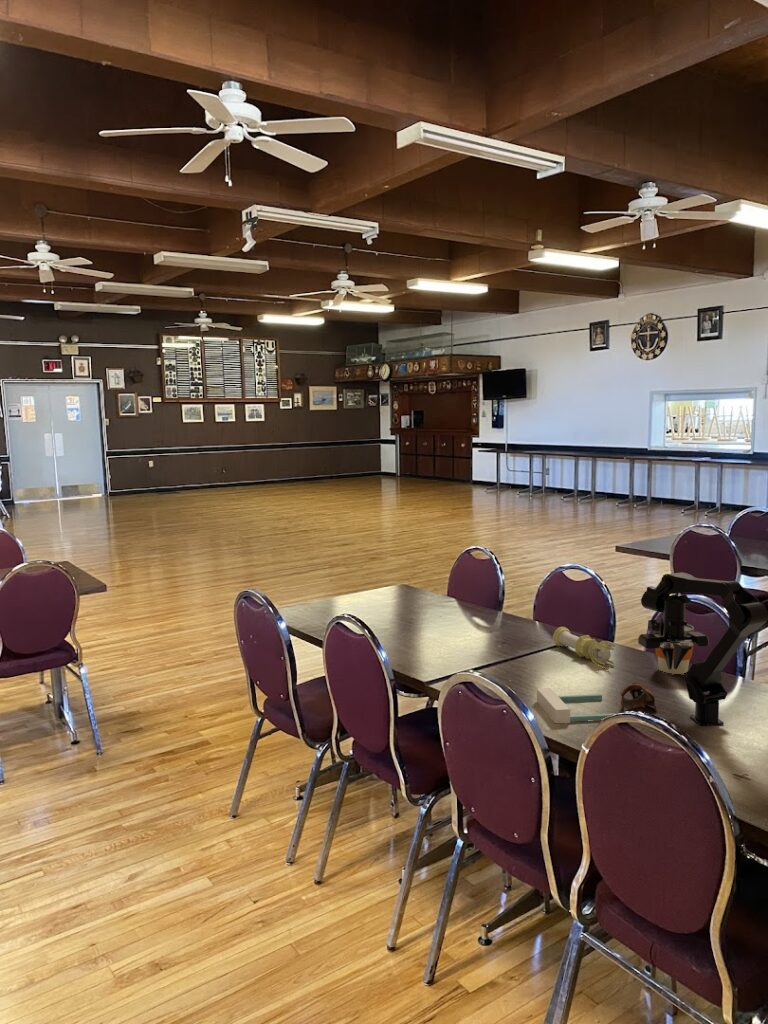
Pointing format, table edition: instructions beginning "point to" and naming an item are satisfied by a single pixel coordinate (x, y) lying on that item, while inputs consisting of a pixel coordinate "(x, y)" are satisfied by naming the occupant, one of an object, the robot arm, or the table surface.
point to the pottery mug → (637, 697)
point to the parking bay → (565, 706)
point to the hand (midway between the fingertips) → (672, 669)
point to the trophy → (584, 646)
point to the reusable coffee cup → (661, 659)
